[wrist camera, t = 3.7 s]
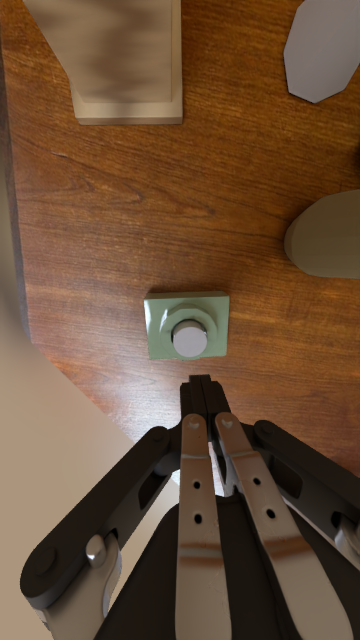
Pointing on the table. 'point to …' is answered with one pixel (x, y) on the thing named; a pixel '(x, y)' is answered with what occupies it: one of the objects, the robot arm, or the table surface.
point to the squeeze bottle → (327, 237)
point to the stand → (117, 57)
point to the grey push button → (189, 338)
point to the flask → (322, 48)
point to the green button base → (183, 306)
